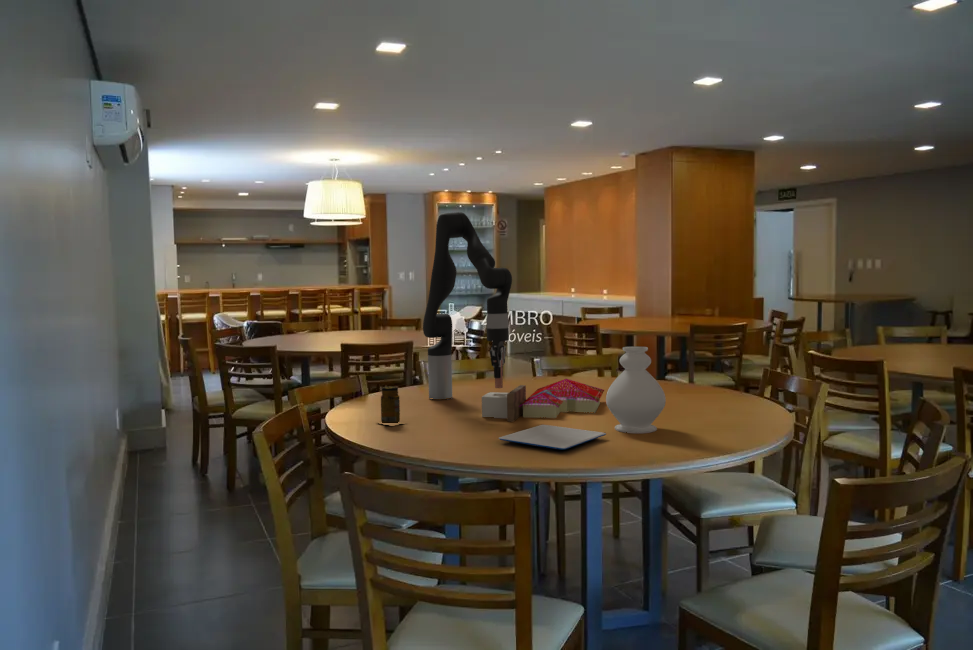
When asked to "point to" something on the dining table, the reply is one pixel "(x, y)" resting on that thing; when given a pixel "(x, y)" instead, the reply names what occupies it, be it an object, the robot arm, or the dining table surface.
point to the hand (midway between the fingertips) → (498, 377)
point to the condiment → (390, 405)
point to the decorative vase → (635, 394)
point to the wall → (515, 402)
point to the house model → (562, 399)
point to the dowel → (499, 379)
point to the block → (494, 405)
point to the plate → (552, 437)
